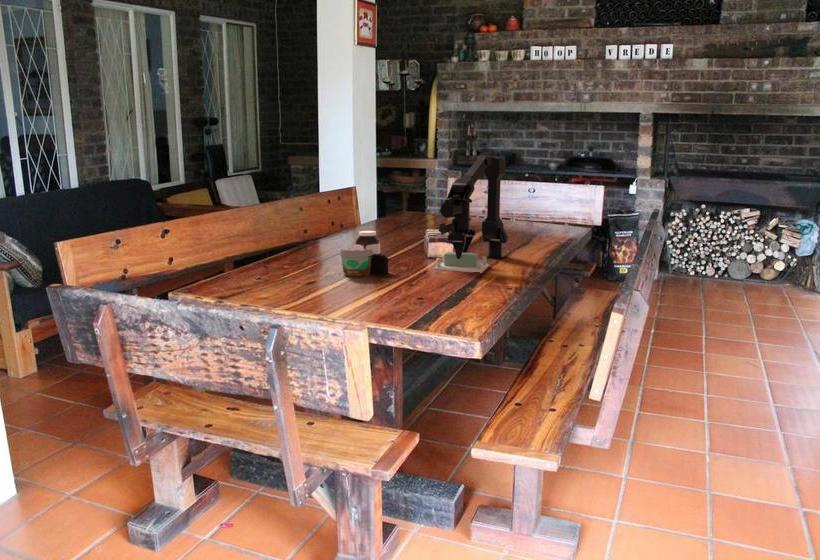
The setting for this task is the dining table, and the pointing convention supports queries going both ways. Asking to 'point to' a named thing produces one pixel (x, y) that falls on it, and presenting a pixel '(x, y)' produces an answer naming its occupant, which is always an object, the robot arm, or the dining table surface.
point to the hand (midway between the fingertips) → (461, 257)
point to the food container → (356, 263)
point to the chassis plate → (480, 267)
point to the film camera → (379, 265)
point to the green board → (461, 259)
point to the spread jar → (367, 242)
